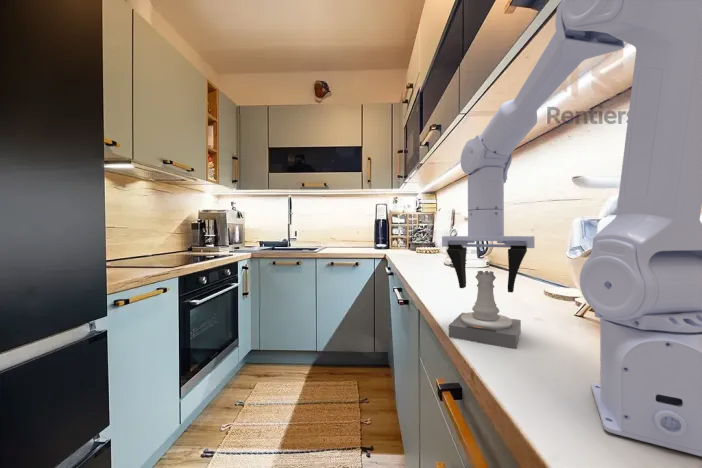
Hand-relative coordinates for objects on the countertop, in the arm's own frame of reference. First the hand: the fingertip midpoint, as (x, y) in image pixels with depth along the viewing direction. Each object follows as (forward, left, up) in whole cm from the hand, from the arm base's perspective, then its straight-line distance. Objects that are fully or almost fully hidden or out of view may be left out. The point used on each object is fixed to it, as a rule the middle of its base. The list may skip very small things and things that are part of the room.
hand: (485, 289), depth 53 cm
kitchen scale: (0, 0, -8) cm, 8 cm away
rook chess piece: (0, 0, -5) cm, 5 cm away
